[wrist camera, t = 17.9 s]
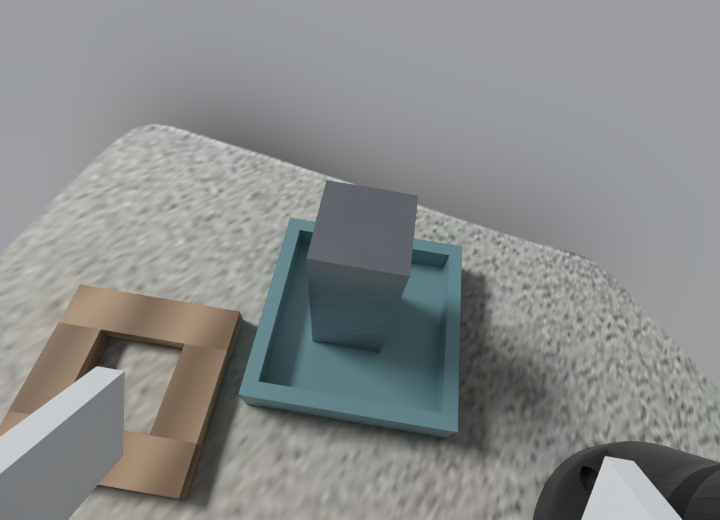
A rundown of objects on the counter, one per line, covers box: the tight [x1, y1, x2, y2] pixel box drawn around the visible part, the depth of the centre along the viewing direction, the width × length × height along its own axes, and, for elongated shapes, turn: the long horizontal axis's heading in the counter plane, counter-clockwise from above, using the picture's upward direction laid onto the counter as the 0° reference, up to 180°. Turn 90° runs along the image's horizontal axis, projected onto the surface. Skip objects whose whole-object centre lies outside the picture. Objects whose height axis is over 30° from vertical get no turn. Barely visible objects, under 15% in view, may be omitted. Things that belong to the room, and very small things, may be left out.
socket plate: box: [0, 285, 243, 499], centre depth 27 cm, size 12×12×2 cm
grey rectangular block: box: [306, 180, 418, 353], centre depth 26 cm, size 5×5×12 cm
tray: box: [238, 218, 462, 438], centre depth 30 cm, size 14×14×3 cm
